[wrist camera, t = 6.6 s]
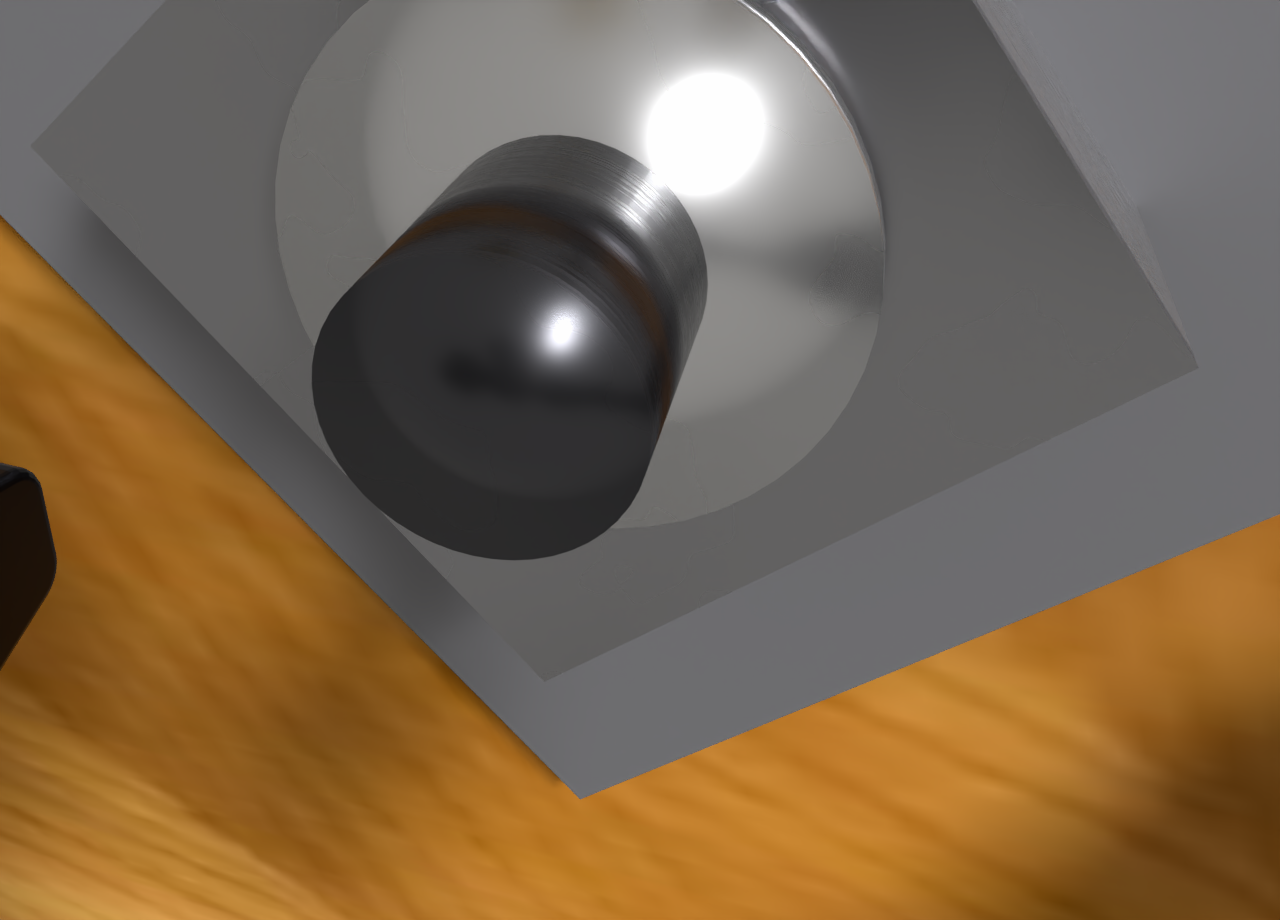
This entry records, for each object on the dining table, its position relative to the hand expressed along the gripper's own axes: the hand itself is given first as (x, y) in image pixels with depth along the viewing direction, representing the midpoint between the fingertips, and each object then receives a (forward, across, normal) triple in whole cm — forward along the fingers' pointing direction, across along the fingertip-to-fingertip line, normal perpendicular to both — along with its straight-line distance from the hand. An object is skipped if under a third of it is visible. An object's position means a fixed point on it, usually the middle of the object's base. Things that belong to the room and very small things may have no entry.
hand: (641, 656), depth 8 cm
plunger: (+11, +2, 0) cm, 12 cm away
